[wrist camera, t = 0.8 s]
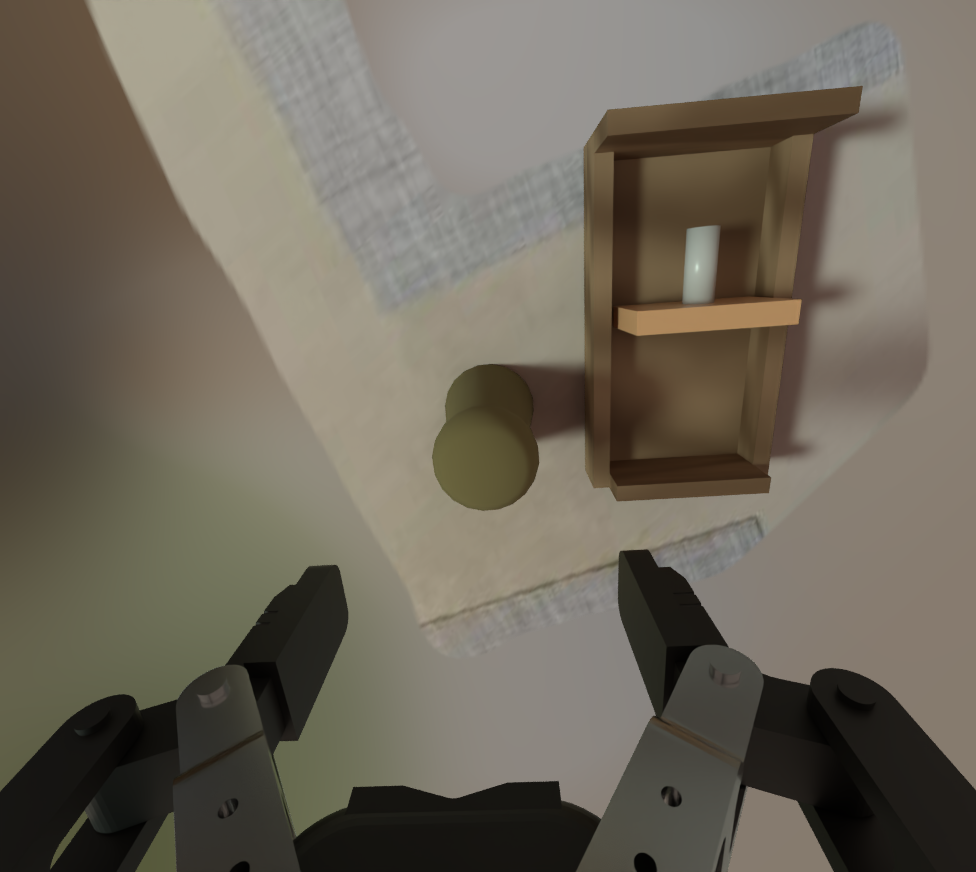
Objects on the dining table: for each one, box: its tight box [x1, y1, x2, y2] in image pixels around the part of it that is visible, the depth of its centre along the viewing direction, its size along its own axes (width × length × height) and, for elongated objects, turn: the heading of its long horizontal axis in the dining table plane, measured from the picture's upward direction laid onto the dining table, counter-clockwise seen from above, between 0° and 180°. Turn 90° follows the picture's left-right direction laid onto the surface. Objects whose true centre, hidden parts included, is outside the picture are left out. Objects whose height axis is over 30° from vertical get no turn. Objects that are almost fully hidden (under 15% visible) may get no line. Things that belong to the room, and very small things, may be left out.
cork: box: [432, 364, 539, 511], centre depth 26 cm, size 6×6×11 cm
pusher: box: [613, 225, 802, 336], centre depth 24 cm, size 5×8×5 cm, turn 94°
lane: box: [584, 86, 863, 501], centre depth 26 cm, size 20×11×6 cm, turn 4°
